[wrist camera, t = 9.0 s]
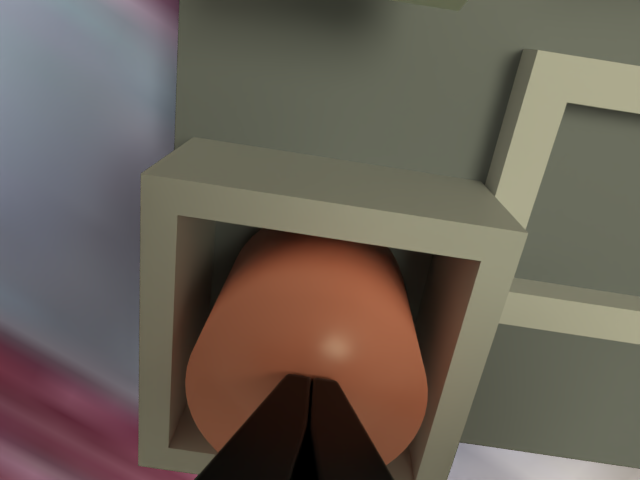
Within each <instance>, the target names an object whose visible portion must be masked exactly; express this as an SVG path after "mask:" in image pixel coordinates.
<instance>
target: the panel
mask: <svg viewBox="0 0 640 480" xmlns="http://www.w3.org/2000/svg"><path fill="white" fill-rule="evenodd" d="M262 228H266V229H273V230H279V231H286V232H293V233H299V234H306V235H312V236H319V237H325V238H332V239H339V240H345V241H352V242H358V243H365V244H371V245H378V246H384V247H389V249H390V250H391V252H392V253H393V255H394V256H395V258H396V260H397V263H398V265H399V267H400V270H401V273H402V277H403V281H404V285H405V289H406V293H407V298H408V302H409V306H410V310H411V314H412V319H413V323H414V327H415V331H416V335H417V340H418V344H419V348H420V352H421V356H422V361H423V365H424V369H425V373H426V378H427V386H428V400H427V407H426V412H425V416H424V418H423V421H422V424H421V426H420V428H419V430H418V432H417V434H416V435H415V437H414V439H413V440H412V441H411V443H410V444H409V445H408V446H407V448H406V449H405V450H404V451H403V452H402V453H401V454H400V455H399V456H398V457H397V458H395V459H394V460H393V461H391V462H390V463H389V464H387V465H386V466H387V468H388V470H389V471H390V473H391V475H392V476H393V478H394V480H447V478H448V475H449V472H450V469H451V466H452V463H453V460H454V457H455V454H456V451H457V448H458V445H459V442H461V443H468V444H475V445H482V446H489V447H496V448H502V449H509V450H516V451H523V452H530V453H536V454H543V455H550V456H557V457H564V458H570V459H577V460H584V461H591V462H598V463H604V464H611V465H618V466H625V467H632V468H639V469H640V0H467V2H466V3H465V4H464V5H463V6H462V7H461V9H460V10H459V11H455V10H449V9H442V8H436V7H430V6H424V5H417V4H411V3H405V2H398V1H392V0H179V27H178V56H177V85H176V114H175V143H174V151H173V152H171V153H170V154H168V155H167V156H165V157H164V158H163V159H161V160H160V161H158V162H157V163H155V164H154V165H152V166H151V167H150V168H148V169H147V170H145V171H144V172H142V173H141V207H140V326H139V445H138V466H143V467H150V468H157V469H164V470H171V471H178V472H185V473H191V474H198V475H199V474H200V472H201V471H202V470H203V469H204V468H205V467H206V466H207V464H208V463H209V462H210V461H211V460H212V459H213V458H214V456H215V455H216V454H217V453H218V451H216V450H215V449H214V448H213V447H212V446H211V444H210V443H209V442H208V441H207V440H206V439H205V437H204V436H203V435H202V433H201V432H200V430H199V429H198V427H197V425H196V423H195V421H194V419H193V417H192V415H191V412H190V409H189V406H188V402H187V397H186V388H185V378H186V370H187V365H188V362H189V358H190V355H191V353H192V351H193V348H194V346H195V344H196V342H197V340H198V338H199V336H200V334H201V332H202V330H203V327H204V325H205V323H206V321H207V319H208V317H209V315H210V313H211V311H212V309H213V306H214V304H215V302H216V300H217V298H218V296H219V294H220V292H221V290H222V288H223V286H224V283H225V281H226V279H227V277H228V275H229V273H230V271H231V269H232V267H233V265H234V262H235V260H236V258H237V256H238V254H239V252H240V251H241V250H242V248H243V247H244V245H245V244H246V243H247V242H248V241H249V240H250V238H251V237H252V236H253V235H255V234H256V233H257V232H258V231H260V230H261V229H262Z"/></svg>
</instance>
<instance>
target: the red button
mask: <svg viewBox="0 0 640 480" xmlns="http://www.w3.org/2000/svg"><path fill="white" fill-rule="evenodd" d="M287 374H296V375H303V376H308V377H310V378H311V382H312V380H313V378H323V379H330V380H335V381H337V382H338V383H339V385H340V387H341V388H342V390H343V392H344V393H345V395H346V397H347V399H348V400H349V402H350V404H351V406H352V407H353V409H354V411H355V413H356V414H357V416H358V418H359V419H360V421H361V423H362V425H363V426H364V428H365V430H366V432H367V433H368V435H369V437H370V438H371V440H372V442H373V444H374V445H375V447H376V449H377V451H378V452H379V454H380V456H381V457H382V459H383V461H384V463H385V464H386V465H387V464H389V463H390V462H391V461H393V460H394V459H395V458H397V457H398V456H399V455H400V454H401V453H402V452H403V451H404V450H405V449H406V448H407V446H408V445H409V444H410V443H411V441H412V440H413V439H414V437H415V435H416V434H417V432H418V430H419V428H420V426H421V424H422V421H423V418H424V416H425V412H426V407H427V400H428V386H427V378H426V373H425V369H424V365H423V361H422V356H421V352H420V348H419V344H418V340H417V335H416V331H415V327H414V323H413V319H412V314H411V310H410V306H409V302H408V298H407V293H406V289H405V285H404V281H403V277H402V273H401V270H400V267H399V265H398V263H397V260H396V258H395V256H394V255H393V253H392V252H391V250H390V249H389V247H384V246H378V245H371V244H365V243H358V242H352V241H345V240H339V239H332V238H325V237H319V236H312V235H306V234H299V233H293V232H286V231H279V230H273V229H266V228H262V229H261V230H260V231H258V232H257V233H256V234H255V235H253V236H252V237H251V238H250V240H249V241H248V242H247V243H246V244H245V245H244V247H243V248H242V250H241V251H240V252H239V254H238V256H237V258H236V260H235V262H234V265H233V267H232V269H231V271H230V273H229V275H228V277H227V279H226V281H225V283H224V286H223V288H222V290H221V292H220V294H219V296H218V298H217V300H216V302H215V304H214V306H213V309H212V311H211V313H210V315H209V317H208V319H207V321H206V323H205V325H204V327H203V330H202V332H201V334H200V336H199V338H198V340H197V342H196V344H195V346H194V348H193V351H192V353H191V355H190V358H189V362H188V365H187V370H186V378H185V388H186V397H187V402H188V406H189V409H190V412H191V415H192V417H193V419H194V421H195V423H196V425H197V427H198V429H199V430H200V432H201V433H202V435H203V436H204V437H205V439H206V440H207V441H208V442H209V443H210V444H211V446H212V447H213V448H214V449H215V450H216V451H218V452H219V451H220V450H221V448H222V447H223V446H224V445H225V444H226V443H227V442H228V440H229V439H230V438H231V437H232V436H233V435H234V434H235V432H236V431H237V430H238V429H239V428H240V427H241V426H242V424H243V423H244V422H245V421H246V420H247V419H248V418H249V416H250V415H251V414H252V413H253V412H254V411H255V410H256V408H257V407H258V406H259V405H260V404H261V403H262V402H263V400H264V399H265V398H266V397H267V396H268V395H269V394H270V392H271V391H272V390H273V389H274V388H275V387H276V386H277V384H278V383H279V382H280V381H281V380H282V379H283V378H284V377H285V376H286V375H287Z"/></svg>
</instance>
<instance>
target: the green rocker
mask: <svg viewBox="0 0 640 480" xmlns="http://www.w3.org/2000/svg"><path fill="white" fill-rule="evenodd" d="M392 1H398V2H405V3H411V4H417V5H424V6H430V7H436V8H442V9H449V10H455V11H459V10H460V9H461V7H462V6H463V5H464V4H465V3H466V2H467V0H392Z"/></svg>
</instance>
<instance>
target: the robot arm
mask: <svg viewBox="0 0 640 480" xmlns="http://www.w3.org/2000/svg"><path fill="white" fill-rule="evenodd" d="M194 480H394V478H393V476H392V475H391V473H390V471H389V470H388V468H387V466H386V464H385V463H384V461H383V459H382V457H381V456H380V454H379V452H378V451H377V449H376V447H375V445H374V444H373V442H372V440H371V438H370V437H369V435H368V433H367V432H366V430H365V428H364V426H363V425H362V423H361V421H360V419H359V418H358V416H357V414H356V413H355V411H354V409H353V407H352V406H351V404H350V402H349V400H348V399H347V397H346V395H345V393H344V392H343V390H342V388H341V387H340V385H339V383H338V382H337V381H335V380H330V379H323V378H313V380H312V382H311V378H310V377H308V376H303V375H296V374H287V375H286V376H285V377H284V378H283V379H282V380H281V381H280V382H279V383H278V384H277V386H276V387H275V388H274V389H273V390H272V391H271V392H270V394H269V395H268V396H267V397H266V398H265V399H264V400H263V402H262V403H261V404H260V405H259V406H258V407H257V408H256V410H255V411H254V412H253V413H252V414H251V415H250V416H249V418H248V419H247V420H246V421H245V422H244V423H243V424H242V426H241V427H240V428H239V429H238V430H237V431H236V432H235V434H234V435H233V436H232V437H231V438H230V439H229V440H228V442H227V443H226V444H225V445H224V446H223V447H222V448H221V450H220V451H219V452H218V453H217V454H216V455H215V456H214V458H213V459H212V460H211V461H210V462H209V463H208V464H207V466H206V467H205V468H204V469H203V470H202V471H201V472H200V474H199V475H198V476H197V477H196V478H195V479H194Z"/></svg>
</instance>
